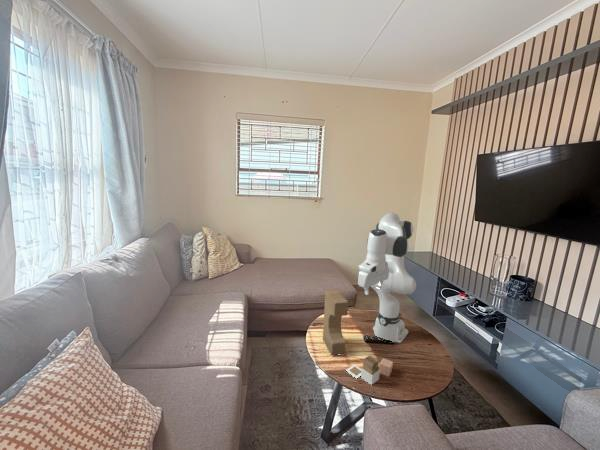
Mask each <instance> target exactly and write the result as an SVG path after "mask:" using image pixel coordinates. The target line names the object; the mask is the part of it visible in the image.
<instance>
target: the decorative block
mask: <svg viewBox="0 0 600 450" xmlns="http://www.w3.org/2000/svg"><path fill="white" fill-rule="evenodd" d="M348 311H349V301H348V300H347V299H346V298H345V297H344V295H342V293H340V291H339V290H338V289H335V290H325V294H324V309H323V312H324V313H323V326H322V327H323V328H322V340H323V343H324V342H325V343H324V344H326V345H325V346H326V348H327V350H328V352H329V354H330V353H331V354H330V355H336V356H339V355H338V354H344V355H345V354H346V340H345V339H344V336H343V331H342V317H344V316H348V315H349V314H348Z"/></svg>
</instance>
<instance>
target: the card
mask: <svg viewBox="0 0 600 450" xmlns="http://www.w3.org/2000/svg"><path fill="white" fill-rule="evenodd" d="M361 369H362V368H360V367H359V366H357V365H356V364H352V365H351V366H350V367H348V368H346V369H345V370H346V371H347V372H348V373H349V374H348V373H347V372H346V371H345V372H346V373H347V374H348V375H350V374H351V375H352V376H351V375H350V376H351V377H353V378H354V377H355V378H356V379H355V378H354V379H355V380H358V379H360V378H361V377H360V376H361ZM357 378H358V379H357Z"/></svg>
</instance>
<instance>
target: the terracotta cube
mask: <svg viewBox="0 0 600 450" xmlns="http://www.w3.org/2000/svg"><path fill="white" fill-rule="evenodd" d="M393 365H394V362H393V361H392V360H389V359H387V358H384V357H383V358H381V360H380V361H379V366H378V369H379V370H380V375H384V376H386V377H390V375H391V373H392V372H393Z"/></svg>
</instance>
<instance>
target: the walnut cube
mask: <svg viewBox="0 0 600 450" xmlns="http://www.w3.org/2000/svg"><path fill="white" fill-rule="evenodd" d="M379 365H380V360H379V359H377V358H375V357H374V356H373V355H371V354H370V355H368V356H366V357H365V358H363V360H362V368H363V369H364V370H365V371H367V372H368V373H370V374H371V375H372V374H373V373H375V372H376V371H378V369H379Z"/></svg>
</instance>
